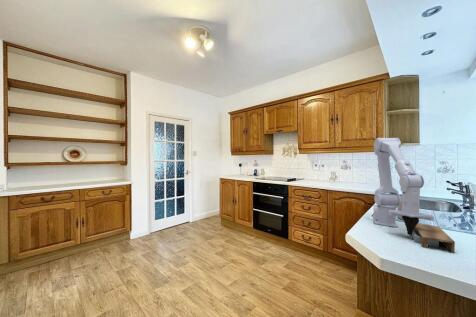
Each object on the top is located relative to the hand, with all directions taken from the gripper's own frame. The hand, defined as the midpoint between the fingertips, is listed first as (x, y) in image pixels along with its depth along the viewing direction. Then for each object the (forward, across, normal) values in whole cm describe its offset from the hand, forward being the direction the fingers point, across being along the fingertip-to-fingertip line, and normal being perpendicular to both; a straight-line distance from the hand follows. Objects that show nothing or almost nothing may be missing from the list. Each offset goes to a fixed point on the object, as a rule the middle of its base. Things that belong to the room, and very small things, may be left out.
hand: (409, 234), depth 87 cm
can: (+2, +3, +31) cm, 31 cm away
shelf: (+1, +7, 0) cm, 7 cm away
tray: (+1, +4, 0) cm, 5 cm away
